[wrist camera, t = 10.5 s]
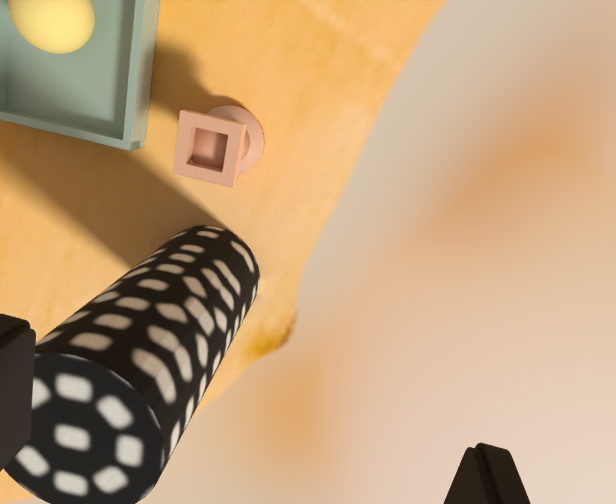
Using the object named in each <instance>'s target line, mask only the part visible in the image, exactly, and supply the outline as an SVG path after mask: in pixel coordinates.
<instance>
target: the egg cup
mask: <svg viewBox="0 0 616 504" xmlns="http://www.w3.org/2000/svg"><path fill="white" fill-rule="evenodd" d="M264 144H265V139H264V133H263V129H262V127H261V125H260V123H259V121H258V120H257V119H256V117H255V116H254V115H253V114H252V113H250V112H249V111H248V110H246V109H244V108H242V107H239V106H234V105H225V106H219V107H216V108H213V109H211V110H210V111H208V112H207V113H206V114H203V113H198V112H194V111H190V110H180V116H179V124H178V132H177V140H176V148H175V156H174V164H173V172H172V173H173V174H177V175H181V176H185V177H189V178H193V179H198V180H202V181H206V182H210V183H214V184H219V185H223V186H227V187H231V188H233V187H234V186H236V184H237V178H238V175H240V174H242V173H245V172H247V171H248V170H250V169H251V168H252V167H254V166H255V165H256V164H257V162H258V161H259V160H260V158H261V156H262V154H263V150H264ZM191 160H192V161H193V162H191Z"/></svg>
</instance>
